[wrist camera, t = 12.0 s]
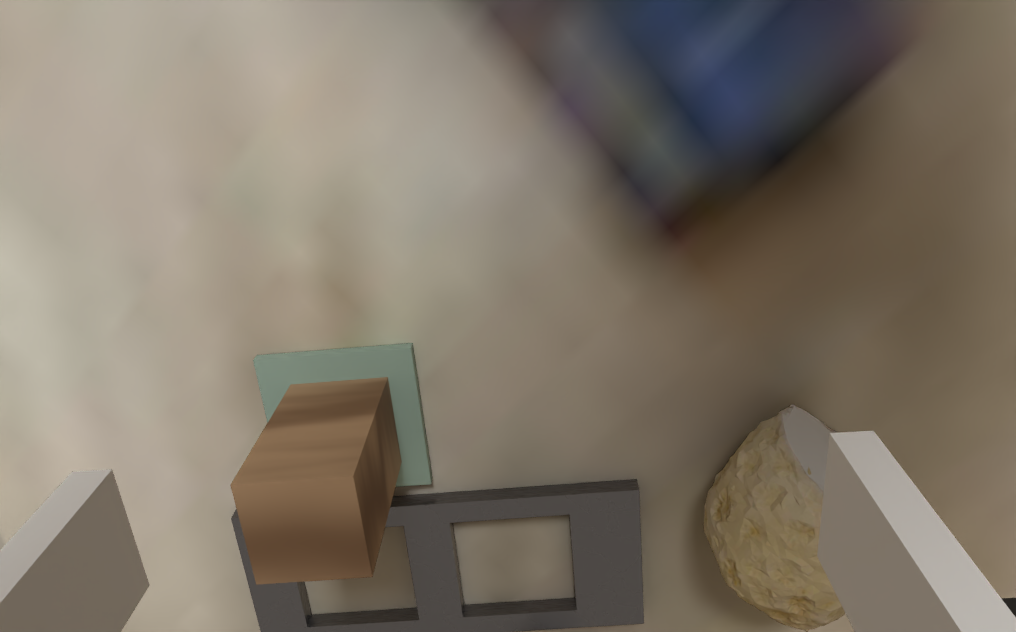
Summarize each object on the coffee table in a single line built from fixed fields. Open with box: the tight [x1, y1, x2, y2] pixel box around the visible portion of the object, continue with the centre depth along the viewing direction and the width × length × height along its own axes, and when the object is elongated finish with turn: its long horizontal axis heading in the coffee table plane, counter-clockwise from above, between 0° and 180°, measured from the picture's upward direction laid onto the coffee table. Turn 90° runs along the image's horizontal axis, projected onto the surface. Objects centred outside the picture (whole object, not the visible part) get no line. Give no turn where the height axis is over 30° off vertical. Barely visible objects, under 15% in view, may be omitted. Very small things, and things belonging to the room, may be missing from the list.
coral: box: [704, 405, 845, 632], centre depth 38 cm, size 10×10×10 cm
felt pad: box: [253, 343, 432, 487], centre depth 41 cm, size 8×8×1 cm
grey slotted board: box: [231, 479, 644, 632], centre depth 44 cm, size 9×22×1 cm, turn 95°
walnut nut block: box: [231, 377, 402, 585], centre depth 37 cm, size 5×5×9 cm
